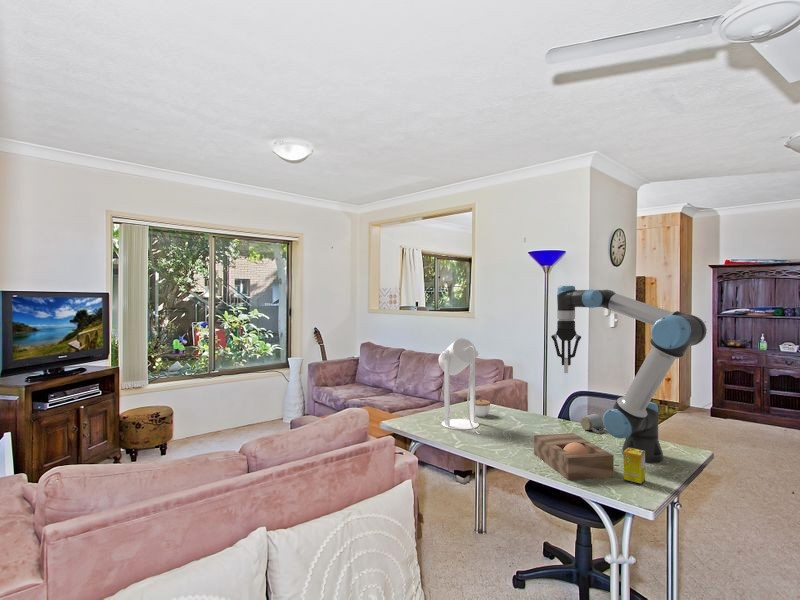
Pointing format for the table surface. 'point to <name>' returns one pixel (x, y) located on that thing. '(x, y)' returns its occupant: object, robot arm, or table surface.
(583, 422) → the ceramic mug
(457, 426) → the desk lamp
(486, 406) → the lidded jar
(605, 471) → the walnut stand
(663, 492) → the table surface
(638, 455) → the supplement box
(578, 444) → the ball
